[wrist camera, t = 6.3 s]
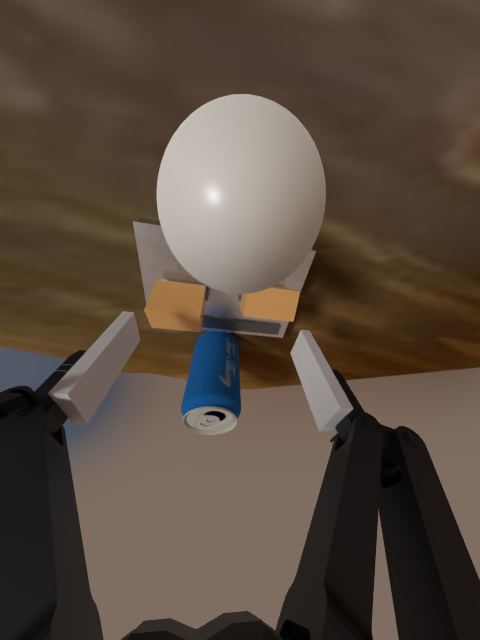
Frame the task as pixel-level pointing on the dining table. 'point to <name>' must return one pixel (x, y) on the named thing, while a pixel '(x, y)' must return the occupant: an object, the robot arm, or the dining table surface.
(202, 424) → the beverage can
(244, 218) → the white rounded smooth part
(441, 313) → the dining table surface
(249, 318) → the breaker plate
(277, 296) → the paddle
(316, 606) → the robot arm
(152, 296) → the paddle
